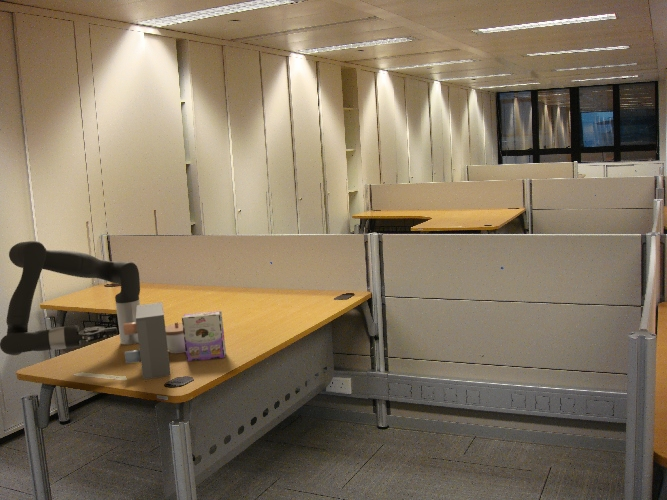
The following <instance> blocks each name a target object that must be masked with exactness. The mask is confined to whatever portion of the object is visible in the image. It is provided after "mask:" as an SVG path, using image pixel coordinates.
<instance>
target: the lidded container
mask: <svg viewBox="0 0 667 500" xmlns="http://www.w3.org/2000/svg"><path fill="white" fill-rule="evenodd" d="M165 329H166V338H167V347H168V352H169V353H171V354H181V353H186V349H185V341H184V333H183V324H182V322H181V323H180V322H177V321H175V322H174V323H172V324H168V325H165Z"/></svg>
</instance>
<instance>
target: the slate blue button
mask: <svg viewBox="0 0 667 500" xmlns="http://www.w3.org/2000/svg"><path fill="white" fill-rule="evenodd" d="M124 358H125V363H126V364H133V363H138V362H139V363H141V358H140V350H139V349H135V350H129V351H128V350H126V351H124Z"/></svg>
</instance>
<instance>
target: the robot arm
mask: <svg viewBox="0 0 667 500" xmlns="http://www.w3.org/2000/svg"><path fill="white" fill-rule="evenodd" d="M8 257H9V260H10V261H11V263H12V264H13V265H15V266H16V267H18V268H21V269H22V273H21V276H20V280H19V282H18V284H17V286H16V288H15V289H14V292H13V294H12V295H11V298H10V300H9V304H8V309H7V314H6V319H5V320H6V325H7V330H6V335H4V336H3V337H2V338H1V340H0V350H1V351H2V352H3V353H5V354H6V355H9V356H10V355H11V356H19V355H20V354H23V353H28V352H44V351H51V350H52V351H53V350H64V349H71V348H79V347H81V345H82V342H83V341H85V342H88V343H90V342H94V341H97V340H101V339H103V338H105V337H106V336H111V335H112V336H113V335H117V334H118V331H119V339H120V344H121V345H125V346H126V345H136V344H139V341H138V333H136V334H129V335H125V333H124V324H126V323H133V322H136V310H137V305H141V303H140V293H141V283H140V281H141V279H140V271H139V268H138V266H137V264H136V263H134V262H132V261H112V260H111V261H110V260H103V259H102V260H101V259H99V258H97V257H95V256H93V255H91V254H88V253H84V252H80V251H73V250H61V249H60V250H59V249H56V250H55V249H52V250H51V249H46V247H45V246H44V244H43V243H41V242H40V241H38V240H37V241H36V240H29V241H21V242H18V243H16V244H14V245H12V247H11V248H10V249H9V251H8ZM43 270H46V271H50V272H53V273H58V274H63V275H65V276H72V277H76V278H83V279H99V280H104V281H107V282H109V283H113V284H116V285H120V292H119V293H117V294H115V296H114V299H115V306H116V309H115V310H116V316H117V324H118V328H117V327H116V326H113V327H107V328H106V327H104V326H90V327H84V329H80V326H79V325H78V324H76V325H66V326H61V327H60V326H59V327H54V328H50V329H43V330H36V331H29V321H30V317H31V311H32V304H33V299H34V295H35V292H36V289H37V286H38V282H39V280H40V277H41V274H42V271H43Z"/></svg>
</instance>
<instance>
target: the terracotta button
mask: <svg viewBox="0 0 667 500" xmlns="http://www.w3.org/2000/svg"><path fill="white" fill-rule="evenodd" d="M124 333H125V335H129V334H136V333H137V325H136V322H133V323H126V324H124Z"/></svg>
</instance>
